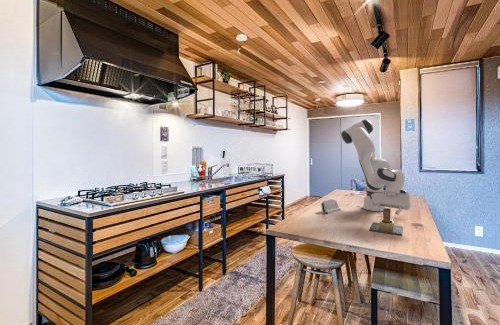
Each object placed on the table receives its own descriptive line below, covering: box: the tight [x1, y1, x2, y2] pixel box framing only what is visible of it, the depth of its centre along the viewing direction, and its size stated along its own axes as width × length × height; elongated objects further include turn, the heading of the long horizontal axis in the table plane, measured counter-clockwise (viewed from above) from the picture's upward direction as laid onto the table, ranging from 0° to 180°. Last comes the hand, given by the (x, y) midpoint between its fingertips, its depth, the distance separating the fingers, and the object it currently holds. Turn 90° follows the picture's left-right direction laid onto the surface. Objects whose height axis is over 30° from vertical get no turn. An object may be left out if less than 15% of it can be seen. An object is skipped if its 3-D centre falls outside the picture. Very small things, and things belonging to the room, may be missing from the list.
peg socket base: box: [369, 218, 404, 237], centre depth 150 cm, size 16×16×4 cm
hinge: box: [320, 198, 342, 215], centre depth 192 cm, size 17×5×10 cm, turn 128°
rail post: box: [382, 207, 392, 223], centre depth 149 cm, size 4×4×11 cm
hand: (387, 212), depth 149 cm, fingers open, 8 cm apart
